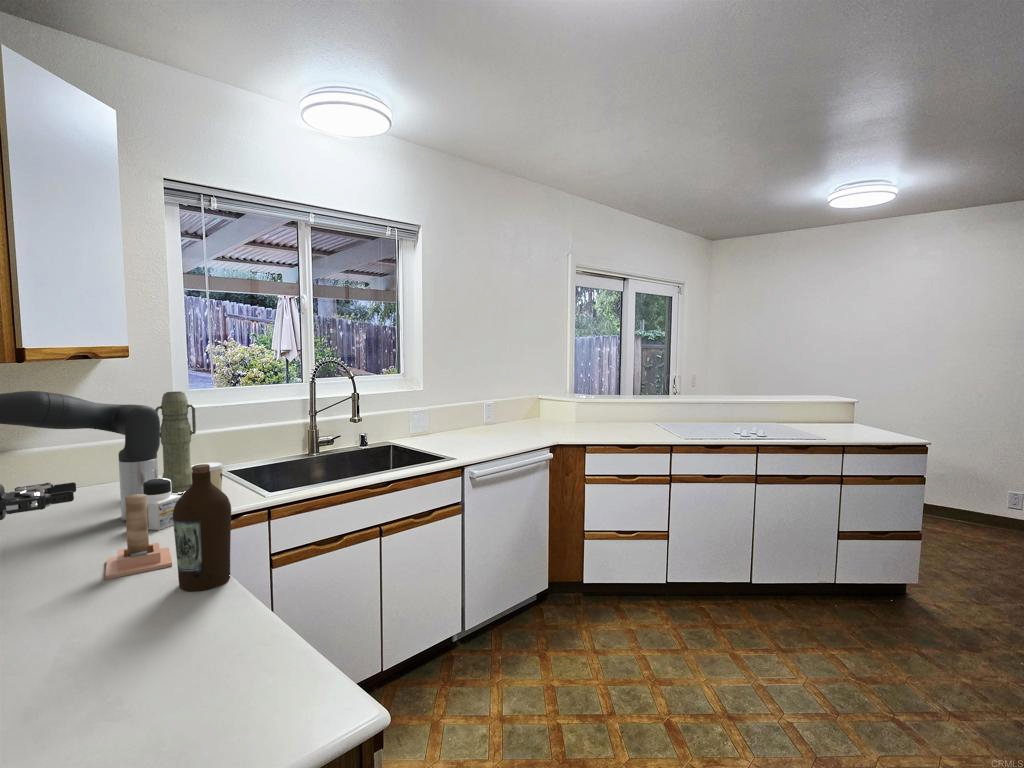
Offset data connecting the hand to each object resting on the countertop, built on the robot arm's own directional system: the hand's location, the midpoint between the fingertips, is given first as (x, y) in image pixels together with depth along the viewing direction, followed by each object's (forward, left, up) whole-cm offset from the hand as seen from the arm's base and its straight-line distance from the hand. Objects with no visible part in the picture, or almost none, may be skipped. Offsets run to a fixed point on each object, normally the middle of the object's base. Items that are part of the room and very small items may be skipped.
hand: (74, 491), depth 116 cm
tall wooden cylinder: (+4, +11, -17) cm, 21 cm away
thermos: (-64, +23, -18) cm, 71 cm away
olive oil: (+24, +22, -18) cm, 37 cm away
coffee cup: (-45, +30, -18) cm, 57 cm away
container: (-26, +16, -18) cm, 36 cm away
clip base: (+4, +11, -18) cm, 21 cm away
